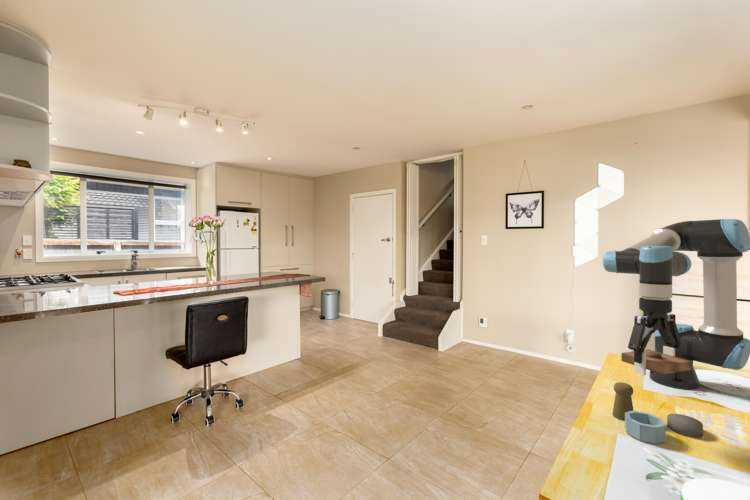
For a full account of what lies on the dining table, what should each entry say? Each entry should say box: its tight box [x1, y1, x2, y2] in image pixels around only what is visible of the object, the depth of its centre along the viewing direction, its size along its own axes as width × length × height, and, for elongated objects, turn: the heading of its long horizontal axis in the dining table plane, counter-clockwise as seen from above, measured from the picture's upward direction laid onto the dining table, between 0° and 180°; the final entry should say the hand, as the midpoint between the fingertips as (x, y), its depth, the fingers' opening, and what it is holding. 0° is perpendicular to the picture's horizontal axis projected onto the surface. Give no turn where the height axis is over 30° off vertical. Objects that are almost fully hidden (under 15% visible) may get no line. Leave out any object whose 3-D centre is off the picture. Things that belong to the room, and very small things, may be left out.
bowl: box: [624, 410, 667, 445], centre depth 101 cm, size 9×9×5 cm
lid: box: [620, 348, 691, 375], centre depth 101 cm, size 12×12×4 cm
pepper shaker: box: [612, 381, 635, 422], centre depth 111 cm, size 6×6×11 cm
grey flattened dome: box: [666, 413, 704, 439], centre depth 103 cm, size 8×8×3 cm
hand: (654, 371), depth 101 cm, fingers closed on lid, 11 cm apart
